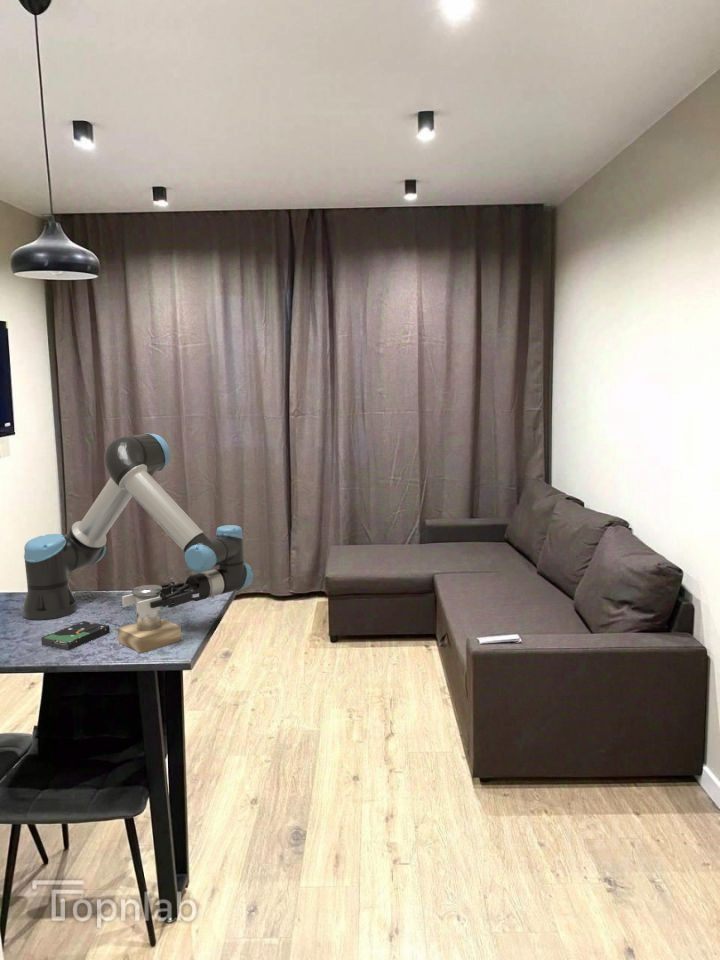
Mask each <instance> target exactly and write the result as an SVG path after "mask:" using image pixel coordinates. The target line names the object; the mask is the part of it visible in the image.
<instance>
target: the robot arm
mask: <svg viewBox="0 0 720 960" xmlns="http://www.w3.org/2000/svg"><path fill="white" fill-rule="evenodd" d="M170 459H171V452H170V447H169V444H168V443H167V442H166V440H165V439H164V438H163V437H161V436H160V435H158V434H155V433H147V432H146V433H143V434H135V435H128V436H127V435H126V436H125V435H124V436H119V437H117V438H115V439H113V440H112V441H111V442H109V443H108V445H107V446H106V448H105V450H104V455H103V464H104V467H105V470H106V472H107V474H108V475H109V479H108V481H107V482H106V484H105V485H104V486H103V488H102V490H101V491H100V493H99V494H98V496H97V497H96V498H95V501H94V502H93V503H92V504H91V506H90V508H89V509H88V511H87V512H86V514H85V515H84V517H83V518H82V520H78V521H76V522H74V523H73V524H72V526H71V527H70V528H69V530H68V532H67V533H66V534H65V535H63V534H60V533H50V534H49V533H48V534H45V535H40V536H36V537H33V538H31V539H30V540H28V541H27V542H26V543H25V545H24V555H23V558H24V564H25V575H26V576H25V577H26V585H27V592H26V596H25V600H24V602H23V603H24V604H23V608H22V613H23V618H25V619H28V620H34V621H37V620H38V621H39V620H40V621H41V620H43V621H44V620H52V619H58V618H61V617H66V616H68V615H70V614H73V613H74V612H75V611H77V607H78V605H77V601H76V598H75V595H74V594H73V592H72V590H71V587H70V585H69V573H72V572H74V571H77V570H80V569H83V568H87V567H91V566H93V565H94V564H96V563H98V562H99V561H101V560H102V559H103V558H104V557H105V554H106V550H107V547H106V545H107V539H108V538H107V534H108V532H109V530H110V529H111V528H112V526H113V525H114V523H115V522H116V521H117V519H118V517H120V515H121V514H122V512H123V510H124V509H125V508H126V506H127V505H128V504H129V502H130V500H131V499H132V498H133V499H135V501H136V502H137V503H138V504H139V505H140V506H141V507H142V508H143V509H144V511H145V512H146V513H148V515H149V516H150V517H151V518H152V519H153V520H154V521H155V522H156V523H157V524H158V525H159V526H160V527H161V529H162V530H163V531H164V532H165V533H166V534H167V535H168V536H169V538H171V539H172V541H173V542H174V543H175V544H176V545H177V546H179V548H180V549H181V550H182V551H183V552H184V561H185V564H186V567H187V568H188V569H189V570H190V571H192V572H195V573H194V574H190V575H189V576H188V577H187V579H186V580H185V582H178V583H176V584H175V581H171V582H167V583H163V584H158V585H159V586H161V587H162V593H160V597H155V598H152V599H148V600H144V601H140V602H137V612H138V613H140V612H144V611H148V610H152V609H155V608H159V607H162V608H166V607H167V608H168V609H170V608H174V607H177V606H180V605H184V604H187V603H189V602H198V601H203V600H205V599H210V598H212V599H215V597H217V596H220V595H225V594H227V593H228V594H229V593H232V592H235V591H240V590H243V589H245V588H248V587H249V586H251V585H252V583H253V579H254V572H252V570H253V569H252V567H251V566H250V564H248V563H246V562H244V559H245V557H244V537H243V530H242V529H243V528H242V527H241V526H238V525H232V524H230V525H229V524H228V525H221V526H219V527H217V529H216V531H215V532H216V534H215V537H214V538H210V537H208V535H206V533H205V532H204V531H203V530H202V529H201V528H199V526H198V525H197V524H196V522H195V521H193V519H192V518H190V516H189V515H188V514H187V513H186V512H185V511H184V510H183V509H182V508H181V507H180V505H179V504H177V502H176V501H175V500H174V499H173V498H172V496H170V495H169V494H168V493H167V492H166V491H165V490H164V489H163V487H162V486H161V485H160V484H159V483H158V481H156V480H155V479H154V478H153V476H154V475H155V474H156V472H160V471H162V470H164V469H165V468H167V466H168V465H169V463H170ZM216 566H218V567H217V568H216V569H213V568H215V567H216ZM121 603H122V607H123V608H126V607H129V606H133V605H135V596H133V594H127V595H123V596H121Z"/></svg>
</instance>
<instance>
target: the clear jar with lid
mask: <svg viewBox="0 0 720 960" xmlns="http://www.w3.org/2000/svg"><path fill="white" fill-rule="evenodd" d="M159 585H160V584H146V585H139V586H136V587H134V588H132V589H131V591H132V594H133V596H135V604H134V605H135V618H136V622H135V623H137V629H138V630H142V631H149V630H155V629H158V628H160V627H161V619H162V611H161V610H162V609H161V607H162V606H161V607H159V608H155V609H152V610H148V611H144V612H140V613H138V612H137V602H140V601H144V600H148V599H152V598H155V597H160V593H162V587H161V586H159Z"/></svg>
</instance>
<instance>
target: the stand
mask: <svg viewBox="0 0 720 960" xmlns="http://www.w3.org/2000/svg"><path fill="white" fill-rule="evenodd" d="M117 640H118V641H117V642H118V643H119V644H122V645H124V646H125V647H128V648H130V649H132V650H134V651H135V652H138V653H141V654H142V653H145V652H146V653H147V652H149V651H151V650H155V649H157V648H158V649H159V648H162V647H164V646H169V645H171V644H175V643H178V642H180V641H182V627H181V625H179V624H177V623H174V622H172V621H168V620H166V619H164V618H161V627H160V628H158V629H155V630H149V631H142V630H138V629H137V623H136V622H135V623H130V624H128V625H127V624H126V625H124V626H120V627H117Z"/></svg>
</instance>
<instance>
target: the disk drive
mask: <svg viewBox="0 0 720 960" xmlns="http://www.w3.org/2000/svg"><path fill="white" fill-rule="evenodd" d="M110 629H111V628H110V625H107V624H102V623H97V622H94V623H90V621H85V620H83V621H80V622H77V623H76V624H73V625H69V626H68V627H65V628H63V629H60V630H56V631H55V632H53V633H49V634H47V635H44V636H42V637H41V646H43V645H46V646H45V647H48V646H51V647H50V648H53V647H55V649H58V648H59V650H63V651H67V650H68V651H70V650H73V649H75V647H76V648H78V647H80V646H83V645H85V644H87V643H89V641H90V642H92V641H95V640H96V638H97V639H99V638H101V636H102V637H104V636H107V635H109V634H110V633H111V632H110V631H111V630H110ZM108 633H109V634H108ZM103 635H104V636H103ZM91 640H92V641H91ZM84 643H85V644H84ZM82 644H83V645H82Z"/></svg>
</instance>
